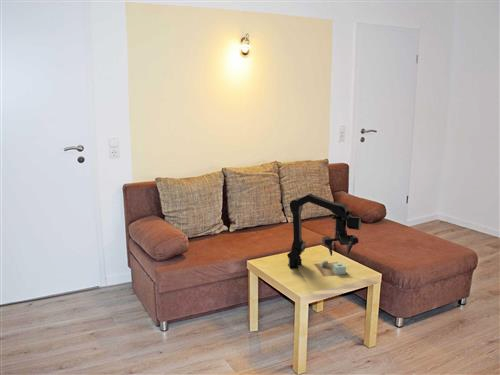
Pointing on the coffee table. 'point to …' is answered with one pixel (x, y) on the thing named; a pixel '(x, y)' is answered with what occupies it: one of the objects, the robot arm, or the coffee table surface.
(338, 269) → the pale green knobbed block
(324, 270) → the board
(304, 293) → the coffee table surface
